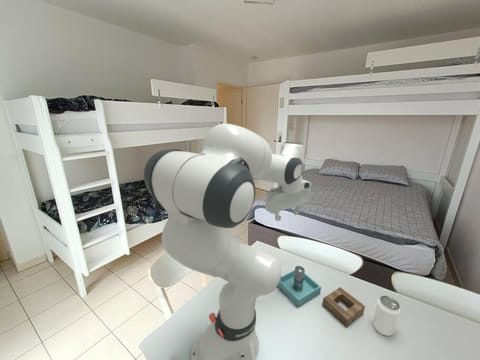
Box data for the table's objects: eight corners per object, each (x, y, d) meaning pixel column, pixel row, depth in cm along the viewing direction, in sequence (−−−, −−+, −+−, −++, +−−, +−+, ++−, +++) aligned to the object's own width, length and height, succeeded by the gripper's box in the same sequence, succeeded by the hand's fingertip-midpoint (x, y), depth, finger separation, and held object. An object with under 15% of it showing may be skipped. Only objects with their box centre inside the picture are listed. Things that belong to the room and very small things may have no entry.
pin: (297, 293, 91) (299, 274, 87) (291, 286, 94) (292, 268, 91) (304, 289, 93) (306, 270, 89) (297, 283, 96) (299, 264, 93)
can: (388, 340, 73) (396, 314, 69) (368, 325, 78) (375, 300, 74) (396, 329, 77) (404, 304, 73) (376, 316, 82) (383, 291, 78)
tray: (297, 307, 85) (298, 300, 84) (276, 285, 96) (277, 278, 94) (320, 294, 91) (321, 286, 90) (297, 274, 102) (298, 267, 101)
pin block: (346, 327, 77) (347, 319, 76) (322, 305, 86) (323, 297, 85) (363, 313, 83) (365, 306, 81) (338, 294, 91) (340, 287, 90)
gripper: (273, 192, 73) (271, 227, 78) (314, 182, 83) (310, 214, 88) (262, 187, 79) (261, 220, 83) (302, 178, 88) (299, 208, 93)
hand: (287, 217), depth 85 cm, fingers open, 8 cm apart
